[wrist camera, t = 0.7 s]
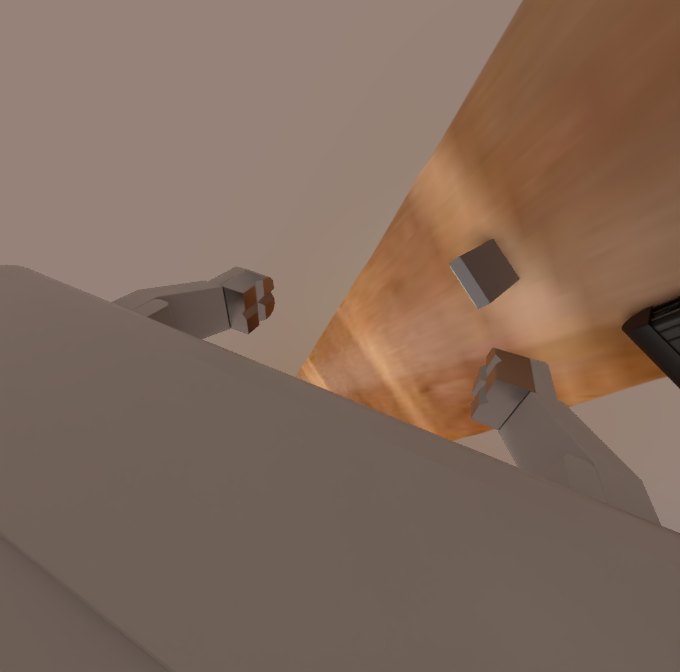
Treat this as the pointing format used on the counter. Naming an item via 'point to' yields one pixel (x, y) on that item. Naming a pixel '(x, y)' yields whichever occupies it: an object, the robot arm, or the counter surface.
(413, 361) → the counter surface
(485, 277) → the slate tile
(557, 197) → the counter surface
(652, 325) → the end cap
